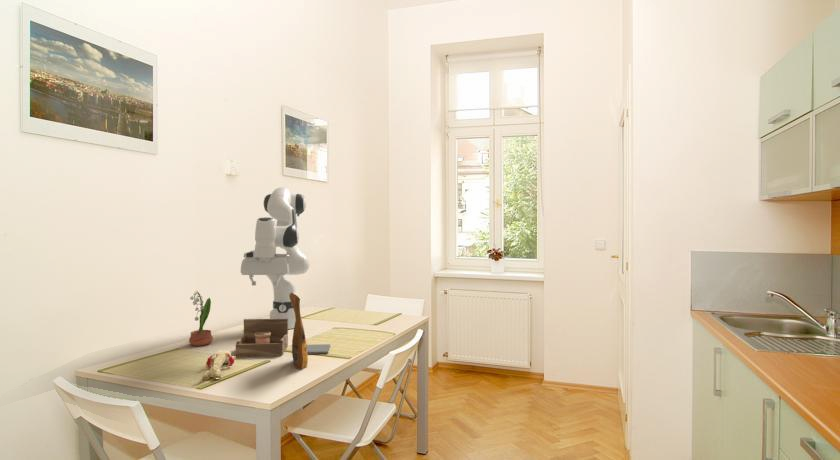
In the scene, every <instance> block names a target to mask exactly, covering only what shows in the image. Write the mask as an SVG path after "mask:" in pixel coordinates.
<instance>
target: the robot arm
mask: <svg viewBox="0 0 840 460" xmlns="http://www.w3.org/2000/svg"><path fill="white" fill-rule="evenodd" d="M262 205H263V207H264V211H265V212H266V213H268V214H269V216H270V217H266V216H265V217H259V218H258V219H257V220H256V223H255V231H254V232H255V233H254V236H255V237H254V239H255V246H254V249H253V250H250V251H248V252H244V253H243V259H242V261H241V265H240V274H241V275H242V276H248V277H249V280H250V281H251V286H257V281H256V280H255V279H254V276H257V275H258V276H262V275H263V276H266V277H267V278H268V279H269V280H270V282H271V284H272V290H273V300H272V310H271V311H269V319H284V318H288V330H292V329H294V326H295V321H296V318H295V312H294V309H293V306H292V303H291V300H290V296H289V295H290V293H291V292H292V293H293V294H295V295H296V286H295V285H294V283H292V282H291V281H288V280H287V279H286V278H285V277H284V276H286V275H288V276H295V275H296V276H298V275H302V274H303V275H304V274H305V273H307V272H308V270H309V268H310V260H309V258H308V257H307V256H306V255H305V254H303V252H301V250H300V248H299V246H298V244H299V239H300V235H299V230H298V222H297V221H298V220H297V217H300V216H301V214H303V213H304V211H305V210H306V206H307V201H306V198H305V196H304V195H303V194H301V193H291V191H290V190H289V189H287V188H286V187H277V188H275V189H274V190H273V191H272V193H269V194H267V195H265V196H264V200H263V204H262ZM277 247H279V248H281V249H283V250H284V251H286V253H277Z"/></svg>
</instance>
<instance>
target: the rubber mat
mask: <svg viewBox="0 0 840 460" xmlns="http://www.w3.org/2000/svg"><path fill="white" fill-rule="evenodd" d="M329 348H330V349H331V344H330V343H327V344H326V343H325V344H319V343H318V344H307V353H308V355H319V354H318V353H328V354H329V352H330V349H329ZM328 351H329V352H328Z"/></svg>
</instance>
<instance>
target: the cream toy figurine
mask: <svg viewBox="0 0 840 460" xmlns="http://www.w3.org/2000/svg"><path fill="white" fill-rule="evenodd" d="M214 356H215V357H214ZM236 358H237V357H236V355H235V356H234V355H232V351H231V350H217V352H215V354H211V355H210V356H209V357H208V358H207V361H206V362H205V364H206V366H207V368H209V369H208V370H207V371H206V372H205V373H204V376H203V377H202V380H203V381H205V380H207V379H209V380H210V379H211V377H214V378H213V380H216V378H220V379H221V377H222V371H221V368H222V366H223V364H227V363H228V367H229V366H231V367H232V366H233V364H235V360H236ZM210 367H211V368H210Z"/></svg>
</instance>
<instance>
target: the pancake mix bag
mask: <svg viewBox="0 0 840 460" xmlns="http://www.w3.org/2000/svg"><path fill="white" fill-rule="evenodd" d="M289 296H290V300H291V303H292V306H293V309H294V312H295V318H296V321H295V326H294V328H293V332H292V333H293V334H292V341H291V342H292V343H291V356H292V360H293V364H294V368H295V369H297V370H298V369H299V370H303V369H305V368H307V367H308V363H309V362H308V361H309V358H308V357H309V356H308V355H309V354H308V353H307V345H308V344H307V339H306V335H305V328H304V325H303V321H302V314H301V306H300V305H301V304H300V302H301V299H300V297H299V296H298V295H297V294H296V293H295V294H293V293H292V292H291V293H290V295H289Z"/></svg>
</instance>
